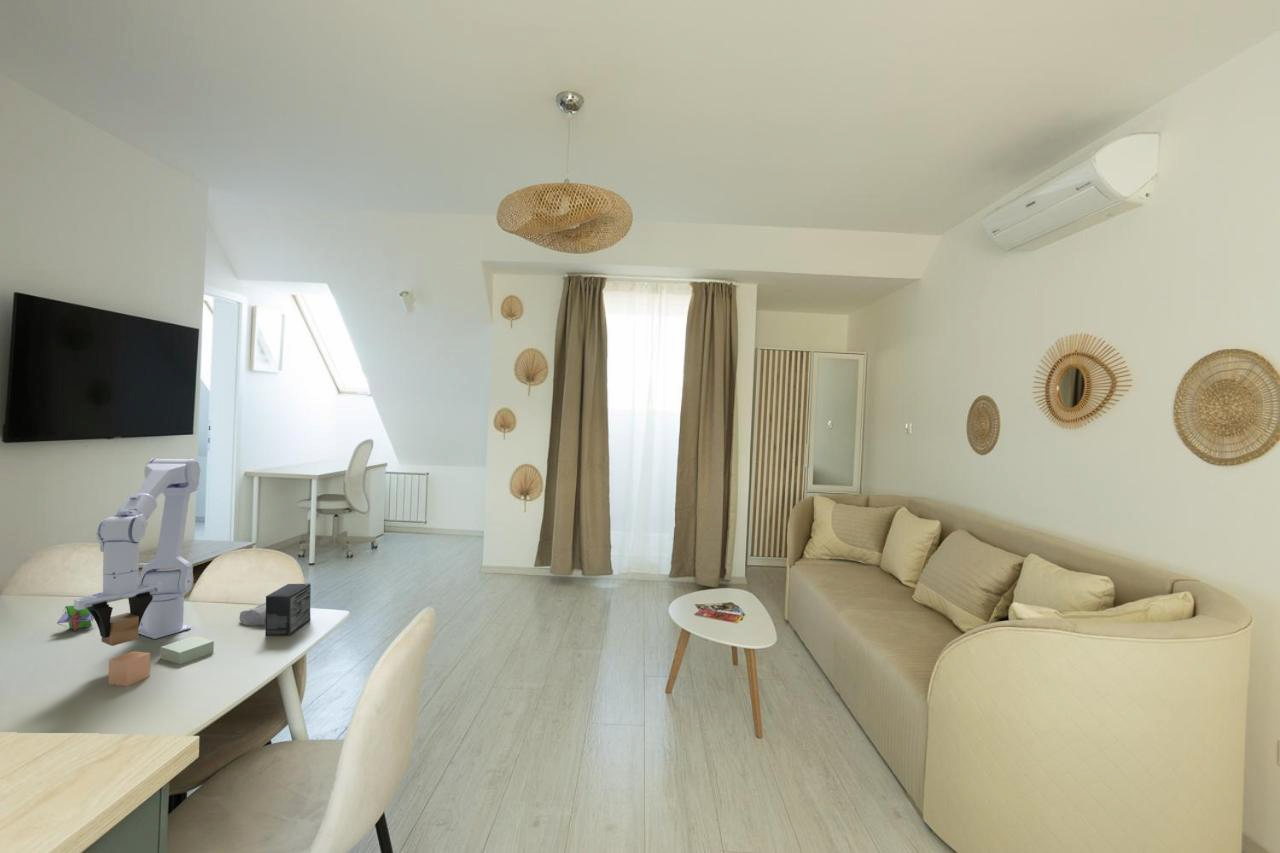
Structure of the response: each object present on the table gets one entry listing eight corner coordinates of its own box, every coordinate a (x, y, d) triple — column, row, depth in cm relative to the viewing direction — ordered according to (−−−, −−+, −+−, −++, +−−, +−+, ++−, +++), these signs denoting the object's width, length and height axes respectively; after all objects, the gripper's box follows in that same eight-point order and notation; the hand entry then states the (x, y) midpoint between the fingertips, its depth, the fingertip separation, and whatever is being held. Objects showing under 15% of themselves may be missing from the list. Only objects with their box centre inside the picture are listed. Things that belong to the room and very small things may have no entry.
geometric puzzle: (86, 625, 137) (96, 594, 141) (49, 629, 134) (60, 597, 138) (96, 634, 142) (106, 604, 146) (61, 638, 139) (71, 606, 143)
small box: (286, 620, 150) (287, 582, 150) (311, 621, 151) (312, 583, 150) (263, 636, 140) (264, 595, 139) (290, 636, 140) (291, 595, 140)
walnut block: (101, 641, 120) (102, 618, 119) (127, 634, 124) (128, 612, 124) (112, 646, 118) (112, 622, 118) (138, 638, 122) (138, 616, 122)
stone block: (234, 630, 147) (266, 626, 145) (232, 612, 147) (264, 608, 146) (272, 616, 159) (302, 613, 157) (270, 600, 159) (300, 596, 157)
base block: (160, 659, 125) (160, 646, 125) (194, 648, 132) (194, 635, 132) (179, 665, 123) (179, 652, 123) (213, 653, 129) (213, 641, 129)
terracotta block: (108, 684, 113) (109, 660, 113) (131, 674, 118) (132, 651, 118) (126, 686, 113) (127, 662, 113) (149, 676, 117) (150, 653, 117)
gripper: (86, 582, 112) (85, 648, 112) (170, 565, 125) (169, 624, 126) (69, 577, 115) (68, 641, 115) (153, 561, 128) (152, 618, 129)
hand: (119, 632), depth 121 cm, fingers closed on walnut block, 4 cm apart
